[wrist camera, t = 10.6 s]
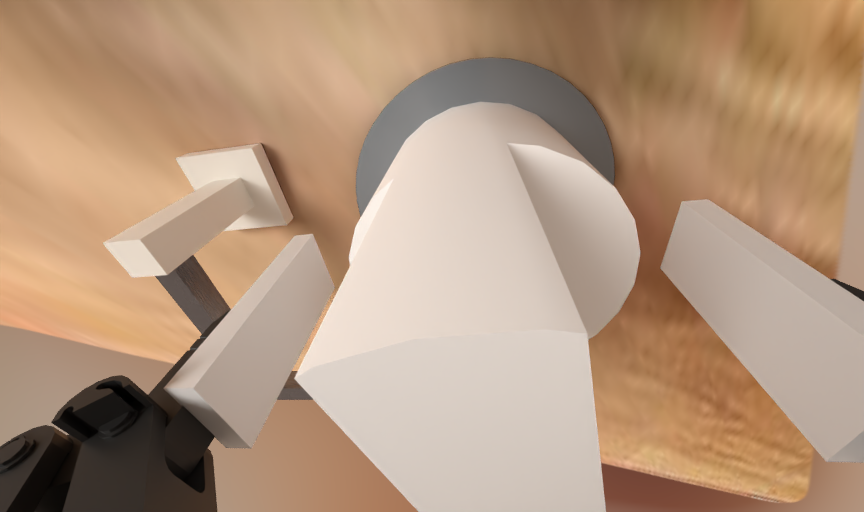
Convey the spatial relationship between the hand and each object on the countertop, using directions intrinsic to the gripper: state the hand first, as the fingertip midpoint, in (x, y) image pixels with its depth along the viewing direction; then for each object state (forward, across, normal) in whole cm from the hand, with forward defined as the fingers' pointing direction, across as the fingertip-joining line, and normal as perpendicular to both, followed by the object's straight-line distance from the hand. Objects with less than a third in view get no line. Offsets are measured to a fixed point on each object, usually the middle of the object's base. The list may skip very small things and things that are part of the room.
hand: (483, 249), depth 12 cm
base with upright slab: (+4, 0, 0) cm, 4 cm away
